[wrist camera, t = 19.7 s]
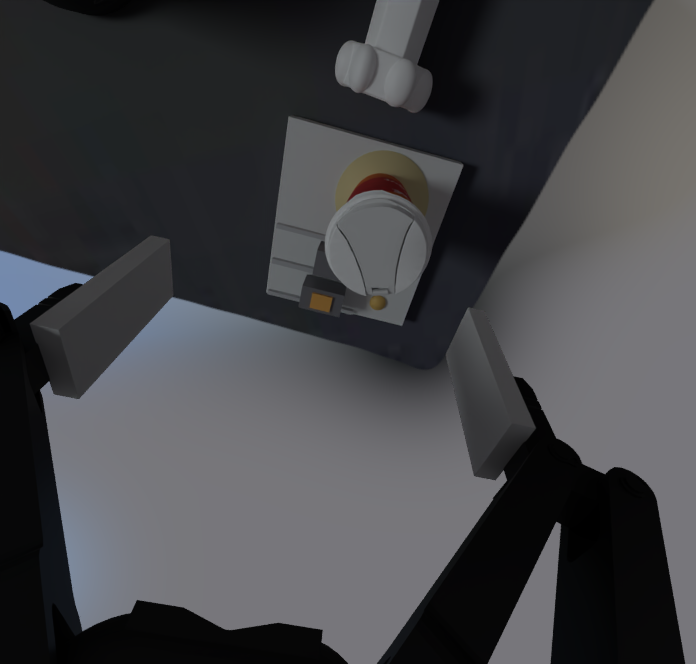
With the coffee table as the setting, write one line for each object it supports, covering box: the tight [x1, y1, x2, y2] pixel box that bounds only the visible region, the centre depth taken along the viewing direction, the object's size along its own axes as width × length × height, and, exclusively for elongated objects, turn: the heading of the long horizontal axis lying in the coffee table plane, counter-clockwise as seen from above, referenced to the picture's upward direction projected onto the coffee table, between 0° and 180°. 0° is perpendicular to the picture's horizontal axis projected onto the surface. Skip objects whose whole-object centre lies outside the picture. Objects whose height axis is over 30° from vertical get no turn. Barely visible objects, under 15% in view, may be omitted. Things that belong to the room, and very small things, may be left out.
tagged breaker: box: [299, 275, 346, 317], centre depth 45 cm, size 5×3×3 cm, turn 76°
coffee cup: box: [325, 173, 432, 296], centre depth 34 cm, size 8×8×15 cm
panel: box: [266, 115, 463, 326], centre depth 42 cm, size 18×20×5 cm
